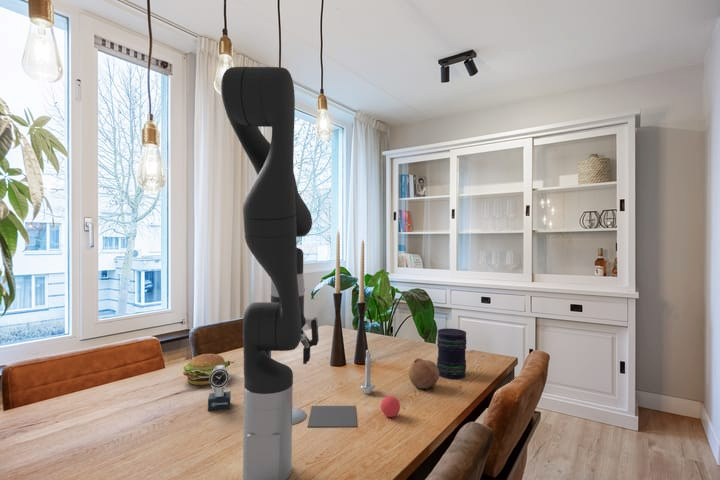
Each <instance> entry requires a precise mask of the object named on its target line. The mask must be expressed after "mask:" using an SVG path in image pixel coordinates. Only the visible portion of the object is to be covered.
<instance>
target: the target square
mask: <svg viewBox="0 0 720 480" xmlns="http://www.w3.org/2000/svg"><path fill="white" fill-rule="evenodd" d="M357 427H358V426H357V410H356V405H312V406H311V408H310V413H309V418H308V422H307V428H357Z"/></svg>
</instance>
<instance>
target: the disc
mask: <svg viewBox="0 0 720 480" xmlns="http://www.w3.org/2000/svg"><path fill="white" fill-rule="evenodd" d="M306 418H307V413H306V412H305V410H304V409H301V408H298V407H292V425H296V424H299V423H301V422H303V421H304V420H305V419H306Z"/></svg>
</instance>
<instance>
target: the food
mask: <svg viewBox="0 0 720 480" xmlns="http://www.w3.org/2000/svg"><path fill="white" fill-rule="evenodd" d="M220 365H225V368H226V369H227V368H228V366H231V361H230V360H227V361H225V358H224V357H222V355H220V354H216V353H202V354H200V355H199V354H198V355H196V356H195V357H193V358H191V359H190V360H189V362H188V363H187V365H183V375H184V376H186V377H187V379H186V381H187V383H188V384H192V385H195V386H207V385H211V384H210V381H209V378H210V375H211V374H212V372H213V370H214V368H215V367H216V366H220Z"/></svg>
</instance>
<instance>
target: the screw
mask: <svg viewBox="0 0 720 480" xmlns="http://www.w3.org/2000/svg"><path fill="white" fill-rule="evenodd" d="M371 360H372V359H371V350H370V349H366V350H365V359H364V361H365V363H364V365H365V366H364V367H365V368H364V382H361V383H360V384H359V388H360V389H362V393H363V394H365V395H370V394H372V393H373V390H375V389H376V387H377V385H376V384H375V383H374V382H372V373H371V372H372V369H371V368H372V361H371Z"/></svg>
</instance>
